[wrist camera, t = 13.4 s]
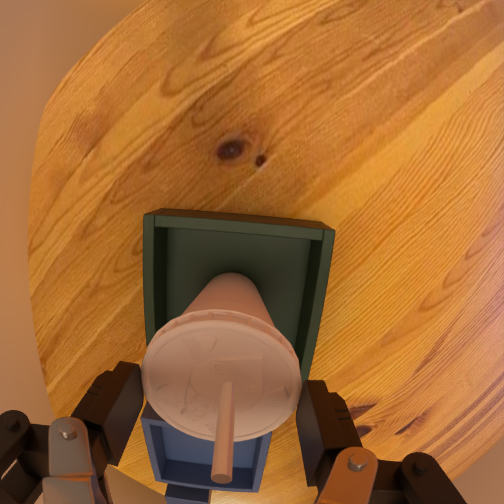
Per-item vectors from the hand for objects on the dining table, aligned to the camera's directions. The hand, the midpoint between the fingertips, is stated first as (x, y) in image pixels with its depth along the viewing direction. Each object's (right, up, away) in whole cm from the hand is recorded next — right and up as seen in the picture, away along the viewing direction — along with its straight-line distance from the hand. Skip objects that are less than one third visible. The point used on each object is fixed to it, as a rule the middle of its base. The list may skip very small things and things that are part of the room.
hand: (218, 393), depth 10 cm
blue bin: (-3, -12, +14) cm, 19 cm away
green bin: (0, +3, +10) cm, 11 cm away
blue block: (-6, -21, +16) cm, 27 cm away
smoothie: (0, +2, +10) cm, 10 cm away
